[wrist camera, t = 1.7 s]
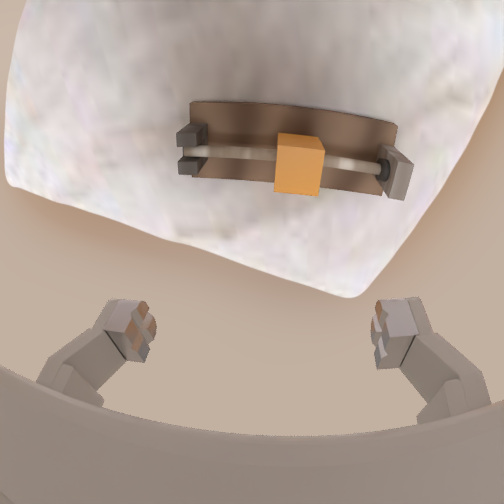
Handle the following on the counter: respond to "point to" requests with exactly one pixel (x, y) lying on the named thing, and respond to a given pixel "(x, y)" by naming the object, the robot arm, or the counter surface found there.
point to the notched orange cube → (298, 164)
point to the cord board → (300, 123)
